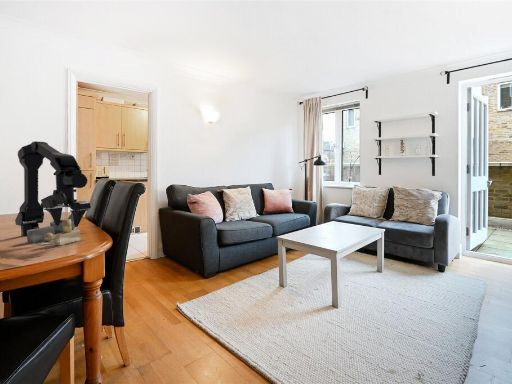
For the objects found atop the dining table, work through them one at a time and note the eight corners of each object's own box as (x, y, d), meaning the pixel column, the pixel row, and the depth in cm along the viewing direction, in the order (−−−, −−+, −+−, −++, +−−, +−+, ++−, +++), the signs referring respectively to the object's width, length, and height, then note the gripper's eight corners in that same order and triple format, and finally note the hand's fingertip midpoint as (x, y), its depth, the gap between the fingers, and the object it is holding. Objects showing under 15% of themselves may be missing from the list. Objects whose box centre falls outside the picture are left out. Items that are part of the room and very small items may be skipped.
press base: (22, 247, 111) (21, 231, 110) (51, 240, 122) (51, 225, 122) (61, 251, 106) (60, 234, 105) (87, 243, 118) (86, 228, 117)
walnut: (41, 241, 114) (40, 233, 113) (49, 239, 117) (48, 231, 117) (47, 242, 113) (47, 233, 113) (56, 240, 116) (55, 232, 116)
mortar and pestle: (50, 239, 123) (49, 212, 122) (50, 235, 131) (49, 209, 130) (80, 236, 130) (79, 210, 129) (79, 232, 138) (78, 208, 137)
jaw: (54, 244, 109) (52, 221, 108) (74, 239, 117) (73, 217, 116) (60, 245, 108) (59, 222, 107) (80, 239, 116) (79, 218, 116)
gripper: (25, 187, 105) (28, 228, 107) (65, 189, 101) (67, 232, 102) (53, 186, 116) (55, 223, 117) (90, 187, 111) (92, 226, 113)
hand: (66, 226), depth 112 cm, fingers open, 9 cm apart
